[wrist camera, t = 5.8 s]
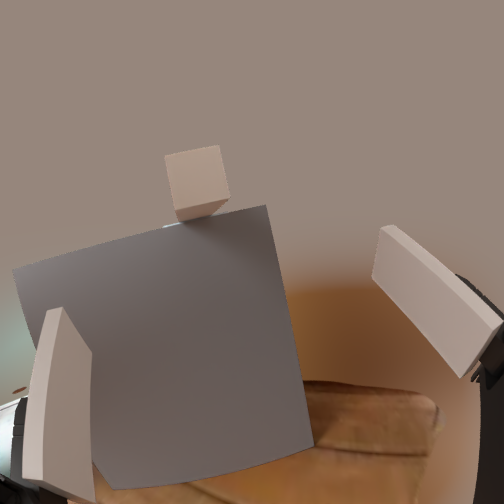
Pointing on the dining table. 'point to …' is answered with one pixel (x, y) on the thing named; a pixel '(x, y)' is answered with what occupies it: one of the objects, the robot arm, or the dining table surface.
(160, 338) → the grey box
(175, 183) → the bar
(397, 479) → the dining table surface
